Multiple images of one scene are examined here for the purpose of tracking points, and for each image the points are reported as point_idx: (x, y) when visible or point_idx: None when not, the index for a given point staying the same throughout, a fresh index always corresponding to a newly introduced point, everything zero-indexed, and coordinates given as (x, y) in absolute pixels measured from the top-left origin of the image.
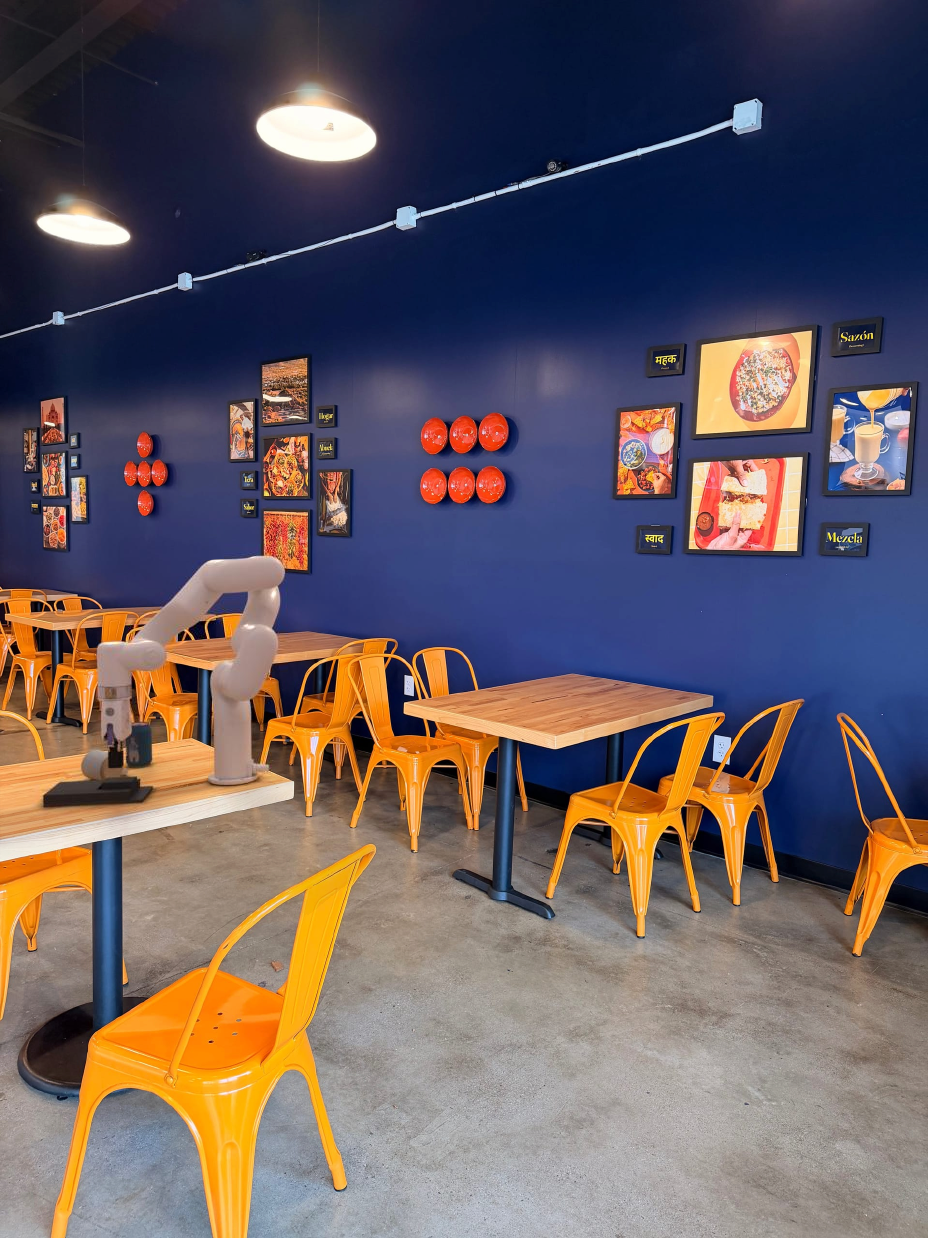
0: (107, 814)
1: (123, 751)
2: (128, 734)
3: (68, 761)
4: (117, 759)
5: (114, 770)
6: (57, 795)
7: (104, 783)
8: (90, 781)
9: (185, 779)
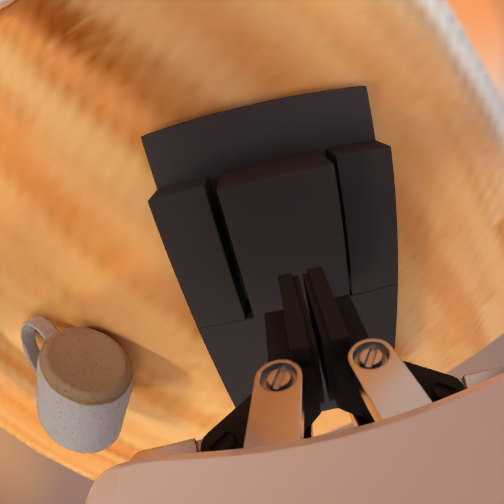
0: (479, 165)
1: (290, 342)
2: (305, 468)
3: (31, 438)
4: (356, 315)
5: (82, 350)
6: None
7: (348, 286)
8: (230, 366)
9: (8, 92)
